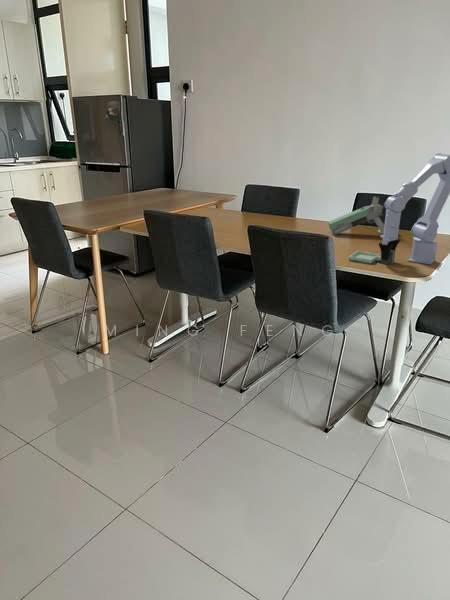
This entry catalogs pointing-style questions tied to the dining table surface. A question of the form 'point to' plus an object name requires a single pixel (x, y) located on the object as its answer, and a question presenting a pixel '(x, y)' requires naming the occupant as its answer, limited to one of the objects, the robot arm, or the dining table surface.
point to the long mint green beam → (359, 218)
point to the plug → (390, 259)
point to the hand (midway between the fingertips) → (387, 257)
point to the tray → (363, 257)
